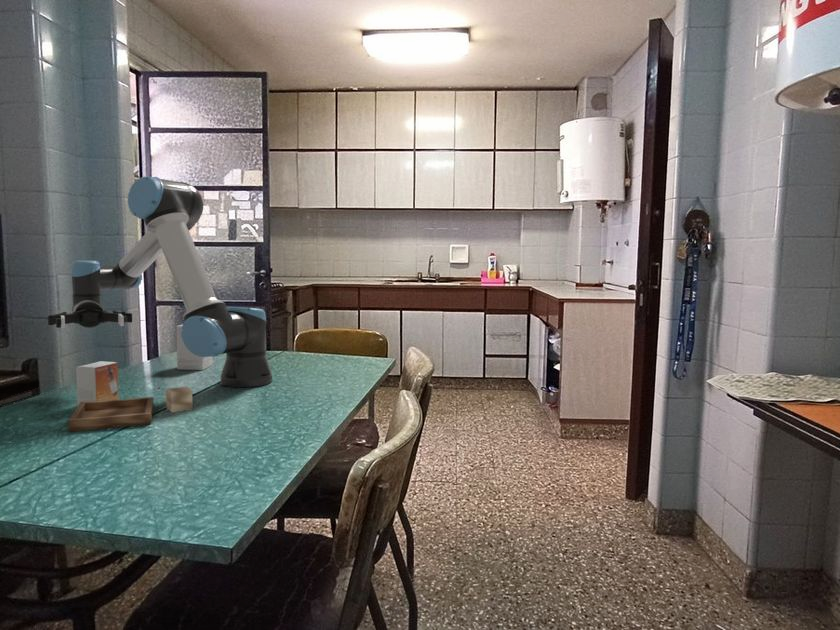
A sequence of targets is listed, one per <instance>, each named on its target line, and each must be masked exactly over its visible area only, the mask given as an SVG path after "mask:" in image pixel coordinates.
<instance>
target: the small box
mask: <svg viewBox="0 0 840 630" xmlns="http://www.w3.org/2000/svg"><path fill="white" fill-rule="evenodd" d="M118 366H119V364H118V362H116V361H104V360H103V361H101V360H100V361H97V362H92V363H88V364H84V365H78V366H76V368H75V371H76V373H75V374H76V375H75V376H76V396H77V406H78V405H79V404H80V402H92V401H106V400H120V397H119V396H120V395H119V372H118V371H119V369H118V368H119V367H118Z"/></svg>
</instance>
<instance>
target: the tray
mask: <svg viewBox="0 0 840 630" xmlns="http://www.w3.org/2000/svg"><path fill="white" fill-rule="evenodd" d="M154 402H155V401H154V396H150V397H149V396H148V397H135V398H123V399H120V398H119V400H106V401H92V402H80V404H79V405H78V404H77V407H76V408H75V410H74V411H73V413H72V414H71V416H70V417H69V419H68V421H67V424H68V425H67V426H68V432H69V433H72V432H74V433H75V432H82V431H84V430H85V431H94V430H105V429H115V428H118V429H119V428H125V427H126V428H129V427H137V426H140V427H141V426H146V425H147V426H149V425H151V424H152V419H153V413H154V408H155V407H154V406H155V403H154ZM85 431H84V432H85Z"/></svg>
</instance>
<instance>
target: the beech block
mask: <svg viewBox="0 0 840 630" xmlns="http://www.w3.org/2000/svg"><path fill="white" fill-rule="evenodd" d="M165 409H166V410H168V411H169V410H170V411H171V412H172V413H175V412H174V411H179V412H182V411H181V410H186V411H188V410H187V409H193V390H192V389H190V388H189V387H188V386H180V387H179V386H178V387H171V388H165ZM170 411H169V412H170ZM171 412H170V413H171Z"/></svg>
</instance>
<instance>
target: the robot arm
mask: <svg viewBox="0 0 840 630" xmlns="http://www.w3.org/2000/svg"><path fill="white" fill-rule="evenodd" d="M127 206H128V209H129V211H130V213H131V214H132V215H133V216H135V217H136V218H138V219H142V220H143V221H144V224H145V226H146V229H147V231H146V233H145V234H144V235H143V236H142V237H141V238H139V240H138V241H137V243H136V244H134V245H133V247H132V248H131V249H130V250H129V251H128V252H127V253H126V254H125V255H124V257H122V258H121V260H119V261H118V262H117V263H116V264H115V265H114V266H105V265H104V266H102V265H100V262H99V261H98V260H83V259H82V260H74V261H72V263H71V272H70V276H71V284H72V306H71V309H72V310H71V311H72V313H69V312H67V311H62V312H59V313H54V314H50V315H47V322H48V323H47V325H48V326H53V325H55V328H57V329H58V328H61V329H62V330H63V329H66V325H69V324H77V325H80V326H81V327H83V328H87V329H88V328H95V327H98V326H100V324H104V323H108V322H109V323H110V322H111V323H118V325H119V326H120V327H124V326H125V323H133V313H132V312H126V310H124V311H117V310H112V311H110V312H108V311H107V310H103V307H102V306H101V300H102V299H101V297H102V294H101V291H106V290H107V291H109V290H130V289H135V288H138V287H139V286H140V285H141V284H142V281H143V275H142V274H143V273H144V272H145V271H146V270H147V269H148V268H149V267H150V266H151V265H152V264H153V263H154V262H155V261H156V260H157V259H158V258H159V257H160V256H161V255H162V254H163V256H164V258H165V260H166V262H167V263H166V264H167V265H168V267H169V270H170V273H171V275H172V277H173V280H174V282H175V285H176V288H177V290H178V293H179V294H180V296H181V299H182V301H183V305H184V307H185V312H184V314H183V316H182V317H183V320H184V322H183V323H182V324H183V325H182V324H181V325H182V330H183V331H182V332H181V336H182V340H183V343H184V345H185V346H186V348H187V349H188V350H189V351H190V352H191V353H193V354H194V355H197V356H199V357H212V358H214V357H218V356H220V355H224V354H226V358H225V360H224V364H223V368H222V372H221V374H220V384H221V385H222V386H226V387H229V388H230V387H231V388H252V387H260V386H266V385H268V384H270V383H272V381H273V373H272V370H271V367H270V363H269V361H268V358H267V318H266V317H267V316H266V311H265V310H264V309H262V308H255V307H254V308H253V307H240V306H239V307H237V306H226V303H225V302H224V301H222V300H220V299H218V297H217V295H216V294H215V291H214V289H213V286H212V284H211V282H210V280H209V279H210V278H209V277H208V273H207V272H206V269H205V267H204V264H203V262H202V260H201V257H200V255H199V252H198V250H197V248H196V245H195V243H194V240H193V238H192V236H191V232H190V231H191V230H192V228H194V227H195V225H196V224H197V223H198V222H199V221H200V219H201V217H202V215H203V212H204V200H203V197H202V195H201V192H200V191H199V190H198V189H197V188H195V186H194V185H192V184H190V183H188V182H183V181H176V180H171V179H170V180H169V179H165V178H164V179H162V178H160V177H157V176H142V177H139V178H138V179H136V180H135V181H134V182H133V183H132V185H131V186H130V188H129V192H128V195H127Z"/></svg>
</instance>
